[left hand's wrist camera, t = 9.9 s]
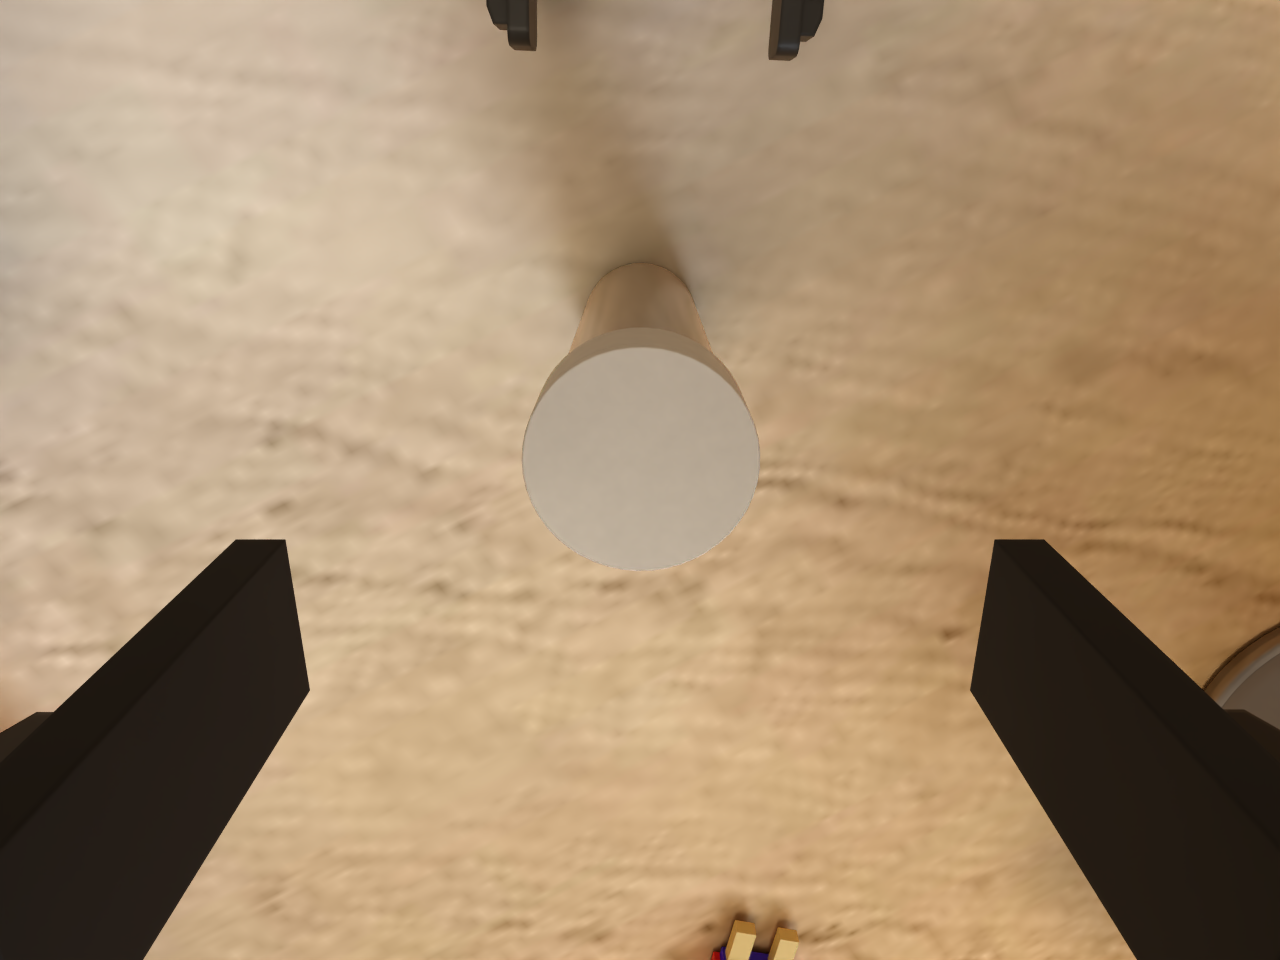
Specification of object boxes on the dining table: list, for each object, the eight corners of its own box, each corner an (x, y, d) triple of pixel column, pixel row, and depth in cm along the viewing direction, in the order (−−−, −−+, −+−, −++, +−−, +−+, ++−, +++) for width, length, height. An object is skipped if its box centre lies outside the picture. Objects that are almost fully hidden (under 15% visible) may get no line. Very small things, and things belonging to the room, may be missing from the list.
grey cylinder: (717, 301, 37) (785, 427, 20) (657, 394, 39) (671, 585, 22) (622, 240, 36) (605, 316, 19) (564, 337, 38) (501, 489, 21)
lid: (791, 400, 22) (808, 428, 20) (672, 566, 24) (676, 609, 21) (604, 283, 21) (600, 298, 19) (495, 466, 22) (479, 499, 20)
